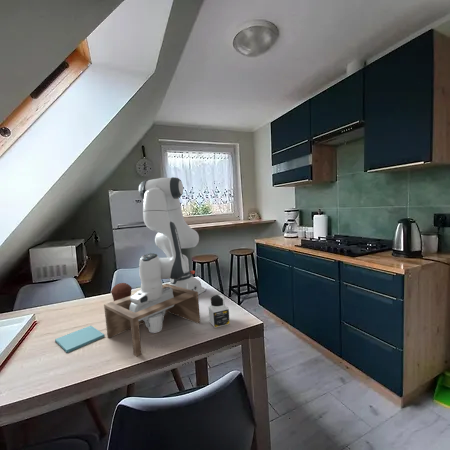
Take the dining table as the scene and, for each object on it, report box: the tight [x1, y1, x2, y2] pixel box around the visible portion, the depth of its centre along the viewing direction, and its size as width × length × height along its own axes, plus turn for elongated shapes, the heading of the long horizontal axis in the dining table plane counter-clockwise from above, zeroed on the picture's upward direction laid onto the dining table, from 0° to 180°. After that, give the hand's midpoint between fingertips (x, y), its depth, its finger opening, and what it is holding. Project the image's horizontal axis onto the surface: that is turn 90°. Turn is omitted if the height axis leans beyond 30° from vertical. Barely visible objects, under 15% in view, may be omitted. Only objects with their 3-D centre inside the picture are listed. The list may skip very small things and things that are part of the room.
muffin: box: [110, 282, 133, 301], centre depth 146 cm, size 12×11×10 cm
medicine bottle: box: [207, 294, 231, 329], centre depth 111 cm, size 7×7×12 cm
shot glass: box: [147, 312, 163, 334], centre depth 108 cm, size 7×7×7 cm
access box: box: [103, 283, 201, 357], centre depth 108 cm, size 31×23×14 cm
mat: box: [54, 325, 105, 354], centre depth 104 cm, size 14×14×1 cm
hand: (155, 323), depth 108 cm, fingers closed on shot glass, 5 cm apart
